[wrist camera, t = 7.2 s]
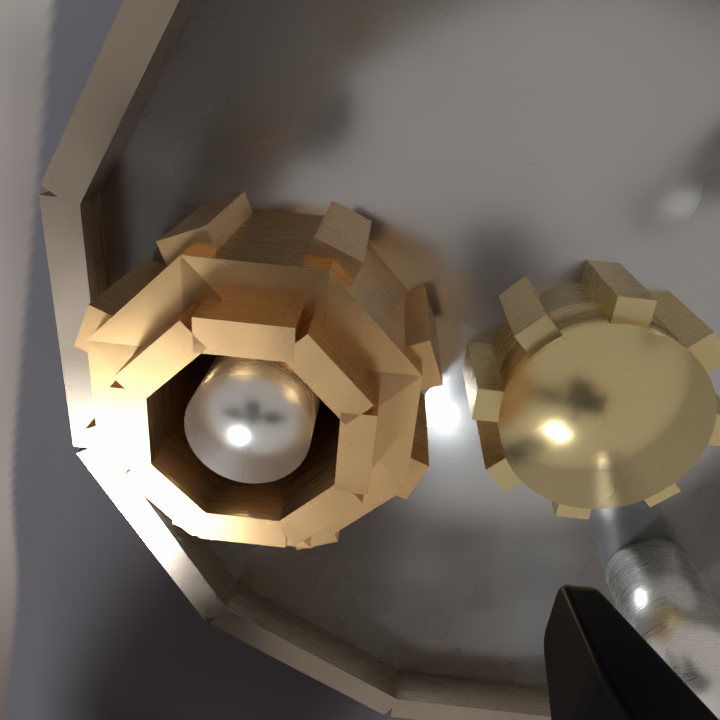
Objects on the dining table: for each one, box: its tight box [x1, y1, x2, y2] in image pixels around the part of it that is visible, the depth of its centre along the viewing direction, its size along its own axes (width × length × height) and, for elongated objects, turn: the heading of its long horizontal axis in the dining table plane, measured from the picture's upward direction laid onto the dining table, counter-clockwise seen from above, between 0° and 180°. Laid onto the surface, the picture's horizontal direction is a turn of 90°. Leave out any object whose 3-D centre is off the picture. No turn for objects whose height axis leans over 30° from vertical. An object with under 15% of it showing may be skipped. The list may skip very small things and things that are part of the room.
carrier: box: [39, 0, 720, 720], centre depth 13 cm, size 23×23×5 cm
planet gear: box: [74, 191, 443, 550], centre depth 13 cm, size 7×7×4 cm
